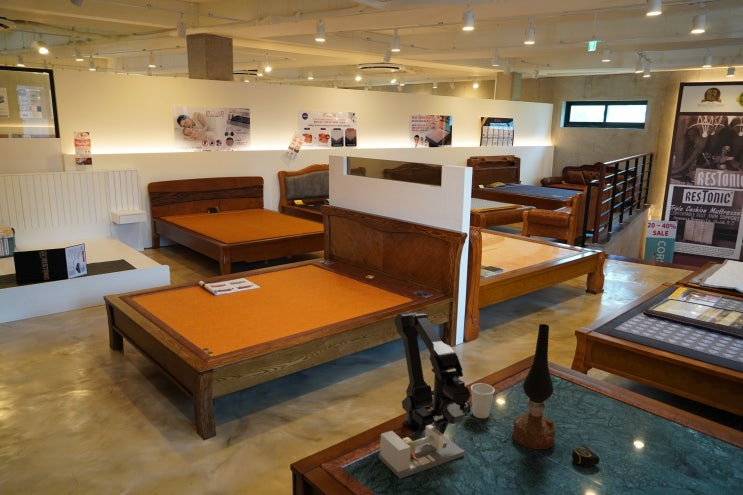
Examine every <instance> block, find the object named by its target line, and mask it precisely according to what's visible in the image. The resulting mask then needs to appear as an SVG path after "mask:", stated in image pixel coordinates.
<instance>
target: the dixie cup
mask: <svg viewBox="0 0 743 495" xmlns="http://www.w3.org/2000/svg"><path fill="white" fill-rule="evenodd" d="M495 389H496V388H494V387H493V386H492V385H490V384H487V383H481V382H479V383H478V382H477V383H473V384H472V385H471V386H470V390H471V392H470V393H471V406H472V407H471V408H472V415H473V416H474V417H475V418H478V419H487V418H488V417H490V411H491V407H492V402H493V397H494V393H495V391H496V390H495Z"/></svg>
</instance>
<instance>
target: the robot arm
mask: <svg viewBox="0 0 743 495" xmlns="http://www.w3.org/2000/svg"><path fill="white" fill-rule="evenodd" d="M394 326H395V327H396V328H395V329H396V331H397V333H398V335H399V336H400V337H401V339H402V340H403V341H402V342H403V347H404V354H405V360H406V366H407V373H408V379H409V381H408V382H409V383H408V385H407V388H406V390H405V391H406V392H405V393H406V397H405V398H404V399H402V401H401V408H402V409H403V410H404V411H405V412H406V420H404V421H402V424H403V423H404V424H403V425H404V426H406V427H407V429H409V430H411V431H412V432H417V431H420V430H423V429H426V426H427V425H432V424H433V425H434V426H435V427H434V428H436V429H437V430H438V431H439V432H441V433H442V434H443V435H444V434H445V431H446V430H447V427H448V426H449V424H450V425H455V424H457V423H461V422H463V421H464V418H465V417H468V416H469V413H471V408H472V407H471V406H472V405H471V404H470V403H469V402H468V401H469V399H470V398H471V392H470V390H469V388H468V387H467V386H466V383H465V381H463V380H461V379H460V377H461V378H462V377H464V374H463V370H464V369H463V367H462V365H461V362H460V360H459V356H458V354H457V353H456V351H455V350H454V349H453V348H452V347H451V346H450V345H449V344H446V343H444V342H443V341H442V339H441V337H440V336H439V334H438V332H437V331H436V330H435V328H434V326H433V325H432V323H431V321H430V320H429V317H428V314H426V313H425V312H422V313H417V312H416V311H408V312H400V313H397V314H396V317H394ZM418 336H419V337H420V338H421V340H422V342H423V343H424V345H425V346H426V348H427V349H428V351H429V361H430V364H431V366H432V369H431V372H432V373H433V374H434V378H433V380H434V383H433V390H432V387H431V385H428V383H427V382H426V381H425V378H424V377H425V376H424V371H423V364H422V360H421V352H420V346H419V340H418V339H419V338H418ZM431 408H432V409H431Z"/></svg>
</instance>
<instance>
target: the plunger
mask: <svg viewBox="0 0 743 495" xmlns="http://www.w3.org/2000/svg"><path fill="white" fill-rule="evenodd" d="M424 435H425V436H424V437H422V438H421V437H420V438H418V439H416V440H412V441H413V442H414V443H415V446H418V445H421V444H424V443H427V442H429V443H430V444H431V445H432V446H433V447H435V448H436V449H437V450H438V451H439V450H442V449H443V437H444V436H445V435H444V434H442V433H441V432H439V431H438V430H437V429H436V427H434V426H433V425H432V424H431V425H427V426H426V428H425V434H424Z"/></svg>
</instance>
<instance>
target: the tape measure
mask: <svg viewBox="0 0 743 495" xmlns="http://www.w3.org/2000/svg"><path fill="white" fill-rule="evenodd" d="M571 458H572V460H573V461H574V463H576V464H577V465H580V466H581V467H587V468H589V467H593V466H594V465H595V466H596V465H598V464H600V460H601V459H600V457H599V456H598V455H597V454H596V453H595V452H593V451H592V450H591V449H590V448H588V447H587V446H586V445H582V446H575V447H574V448H573V450H572V453H571Z"/></svg>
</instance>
